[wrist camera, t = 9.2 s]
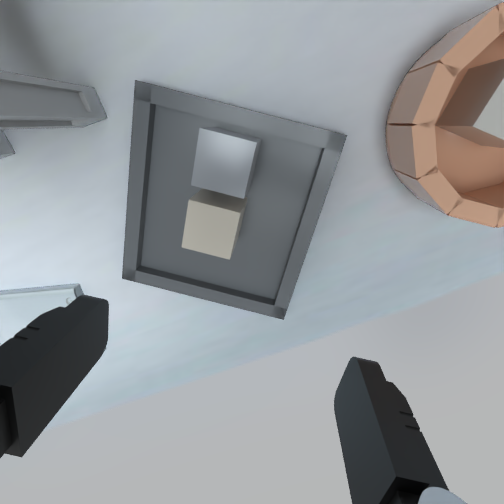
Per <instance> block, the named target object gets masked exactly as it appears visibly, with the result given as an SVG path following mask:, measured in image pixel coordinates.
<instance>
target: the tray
mask: <svg viewBox="0 0 504 504" xmlns="http://www.w3.org/2000/svg"><path fill="white" fill-rule="evenodd" d="M204 127H218V128H222V129H226V130H229V131H233V132H237V133H241V134H245V135H249V136H252V137H256V138H260V139H261V143H260V147H259V152H258V156H257V160H256V164H255V169H254V173H253V177H252V181H251V186H250V188H249V190H248V192H247V194H246V196H245V197H247V203H246V207H245V211H244V215H243V220H242V224H241V228H240V232H239V237H238V240H237V242H236V245H235V248H234V250H233V253H232V255H231V258H230V260H229V259H225V258H221V257H217V256H213V255H209V254H205V253H202V252H198V251H194V250H190V249H186V248H182V240H183V234H184V227H185V221H186V214H187V208H188V201H189V199H190V198H191V197H193V196H194V195H195V194H196V193H197V192H199V191H200V190H201V189H202V188H200V187H196V186H192V185H191V181H192V175H193V168H194V162H195V155H196V148H197V142H198V135H199V129H200V128H204ZM346 137H347V135H344V134H340V133H336V132H333V131H329V130H325V129H321V128H317V127H313V126H310V125H306V124H302V123H298V122H294V121H290V120H287V119H283V118H279V117H275V116H271V115H268V114H264V113H260V112H256V111H252V110H248V109H245V108H241V107H237V106H233V105H229V104H225V103H222V102H218V101H214V100H210V99H206V98H202V97H199V96H195V95H191V94H187V93H183V92H179V91H176V90H172V89H168V88H164V87H160V86H156V85H153V84H149V83H145V82H141V81H137V80H135V90H134V105H133V120H132V135H131V151H130V166H129V181H128V196H127V212H126V227H125V242H124V257H123V273H122V279H126V280H130V281H134V282H138V283H142V284H146V285H150V286H154V287H158V288H162V289H165V290H169V291H173V292H177V293H181V294H185V295H189V296H193V297H197V298H201V299H205V300H209V301H212V302H216V303H220V304H224V305H228V306H232V307H236V308H240V309H244V310H248V311H252V312H256V313H259V314H263V315H267V316H271V317H275V318H279V319H283V320H284V317H285V314H286V311H287V308H288V305H289V302H290V299H291V297H292V294H293V291H294V288H295V285H296V282H297V279H298V276H299V273H300V270H301V268H302V265H303V262H304V259H305V256H306V253H307V250H308V247H309V244H310V241H311V239H312V236H313V233H314V230H315V227H316V224H317V221H318V218H319V215H320V212H321V210H322V207H323V204H324V201H325V198H326V195H327V192H328V189H329V186H330V183H331V181H332V178H333V175H334V172H335V169H336V166H337V163H338V160H339V157H340V154H341V152H342V149H343V146H344V143H345V140H346Z"/></svg>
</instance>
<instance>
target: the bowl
mask: <svg viewBox="0 0 504 504" xmlns="http://www.w3.org/2000/svg"><path fill="white" fill-rule="evenodd" d="M501 59H504V2H503V3H500V4H498V5H496V6H494V7H492V8H491V9H489V10H487V11H485V12H483V13H481V14H480V15H478V16H476V17H474V18H472V19H471V20H469V21H467V22H465V23H463V24H461V25H460V26H458V27H456V28H454V29H452V30H451V31H449V32H448V33H447V34H446V35H445V36H444V37H443V38H442V39H441V40H440V41H439V42H437V43H436V44H435V45H433V46H432V47H431V48H430V49H429V50H428V51H427V52H425V53H424V54H423V55H422V56H421V57H420V58H419V60H418V61H417V62H416V63H415V64H414V65H413V66H412V68H411V69H410V70H409V72H408V73H407V74H406V76H405V77H404V79H403V81H402V82H401V84H400V86H399V87H398V89H397V92H396V94H395V96H394V98H393V100H392V103H391V107H390V110H389V113H388V118H387V123H386V135H385V136H386V149H387V154H388V158H389V161H390V164H391V166H392V168H393V171H394V172H395V174H396V175H397V177H398V178H399V179H400V181H401V182H402V183H403V184H404V185H405V186H406V187H407V188H408V189H409V190H411V191H412V192H413V193H414V195H415V196H416V197H417V198H418V199H420V200H422V201H423V202H425V203H427V204H429V205H430V206H432V207H434V208H436V209H438V210H439V211H441V212H443V213H445V214H446V215H448V216H451V217H455V218H459V219H463V220H467V221H471V222H475V223H478V224H482V225H486V226H490V227H494V228H495V227H497V228H499V227H503V226H504V148H498V147H489V146H481V145H479V144H477V143H474V142H472V141H470V140H467V139H465V138H463V137H460V136H458V135H456V134H454V133H451V132H449V131H447V130H444V129H442V128H440V127H437V126H435V125H436V123H437V122H438V120H439V118H440V117H441V115H442V113H443V112H444V110H445V108H446V106H447V105H448V103H449V101H450V100H451V98H452V96H453V95H454V93H455V91H456V90H457V88H458V86H459V84H460V83H461V81H462V79H463V78H464V76H465V74H466V73H467V71H468V69H470V68H473V67H477V66H480V65H483V64H487V63H490V62H494V61H497V60H501Z"/></svg>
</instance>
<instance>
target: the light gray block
mask: <svg viewBox="0 0 504 504" xmlns="http://www.w3.org/2000/svg"><path fill="white" fill-rule="evenodd" d="M260 143H261V139H260V138H256V137H252V136H249V135H245V134H241V133H237V132H233V131H229V130H226V129H222V128H218V127H204V128H200V129H199V135H198V142H197V148H196V155H195V162H194V168H193V175H192V181H191V185H192V186H196V187H200V188H204V189H208V190H211V191H215V192H219V193H223V194H227V195H231V196H235V197H238V198H242V199H244V197H245V196H246V194H247V192H248V190H249V188H250V186H251V181H252V177H253V173H254V169H255V164H256V160H257V156H258V152H259V147H260Z"/></svg>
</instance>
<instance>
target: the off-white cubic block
mask: <svg viewBox="0 0 504 504" xmlns="http://www.w3.org/2000/svg"><path fill="white" fill-rule="evenodd" d="M246 203H247V197H244V199H242V198H238V197H235V196H231V195H227V194H223V193H219V192H215V191H211V190H208V189H204V188H202V189H201V190H200V191H199V192H197V193H196V194H195V195H194V196H193V197H191V198H190V199H189V201H188V208H187V214H186V221H185V227H184V234H183V240H182V248H186V249H190V250H194V251H198V252H202V253H205V254H209V255H213V256H217V257H221V258H225V259H229V260H230V258H231V255H232V253H233V250H234V248H235V245H236V242H237V240H238V237H239V232H240V228H241V224H242V220H243V215H244V211H245V207H246Z"/></svg>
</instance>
